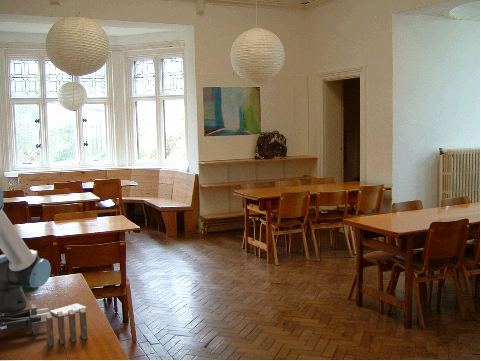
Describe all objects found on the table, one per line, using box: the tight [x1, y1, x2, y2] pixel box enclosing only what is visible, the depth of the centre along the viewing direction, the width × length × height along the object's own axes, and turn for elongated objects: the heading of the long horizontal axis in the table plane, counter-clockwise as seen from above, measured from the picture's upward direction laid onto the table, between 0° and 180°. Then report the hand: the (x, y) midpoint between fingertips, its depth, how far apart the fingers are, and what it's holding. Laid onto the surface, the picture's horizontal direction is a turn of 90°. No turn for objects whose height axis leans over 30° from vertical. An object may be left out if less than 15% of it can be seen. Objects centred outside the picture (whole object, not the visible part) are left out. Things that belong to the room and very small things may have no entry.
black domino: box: [30, 303, 39, 336], centre depth 197 cm, size 2×5×10 cm, turn 25°
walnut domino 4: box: [78, 308, 88, 340], centre depth 191 cm, size 2×5×10 cm, turn 25°
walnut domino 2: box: [56, 311, 66, 345], centre depth 187 cm, size 2×5×10 cm, turn 25°
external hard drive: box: [49, 302, 87, 318], centre depth 220 cm, size 2×8×12 cm
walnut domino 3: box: [67, 310, 78, 342], centre depth 189 cm, size 2×5×10 cm, turn 25°
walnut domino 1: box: [45, 313, 55, 347], centre depth 186 cm, size 2×5×10 cm, turn 25°
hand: (49, 314), depth 199 cm, fingers closed on black domino, 5 cm apart
